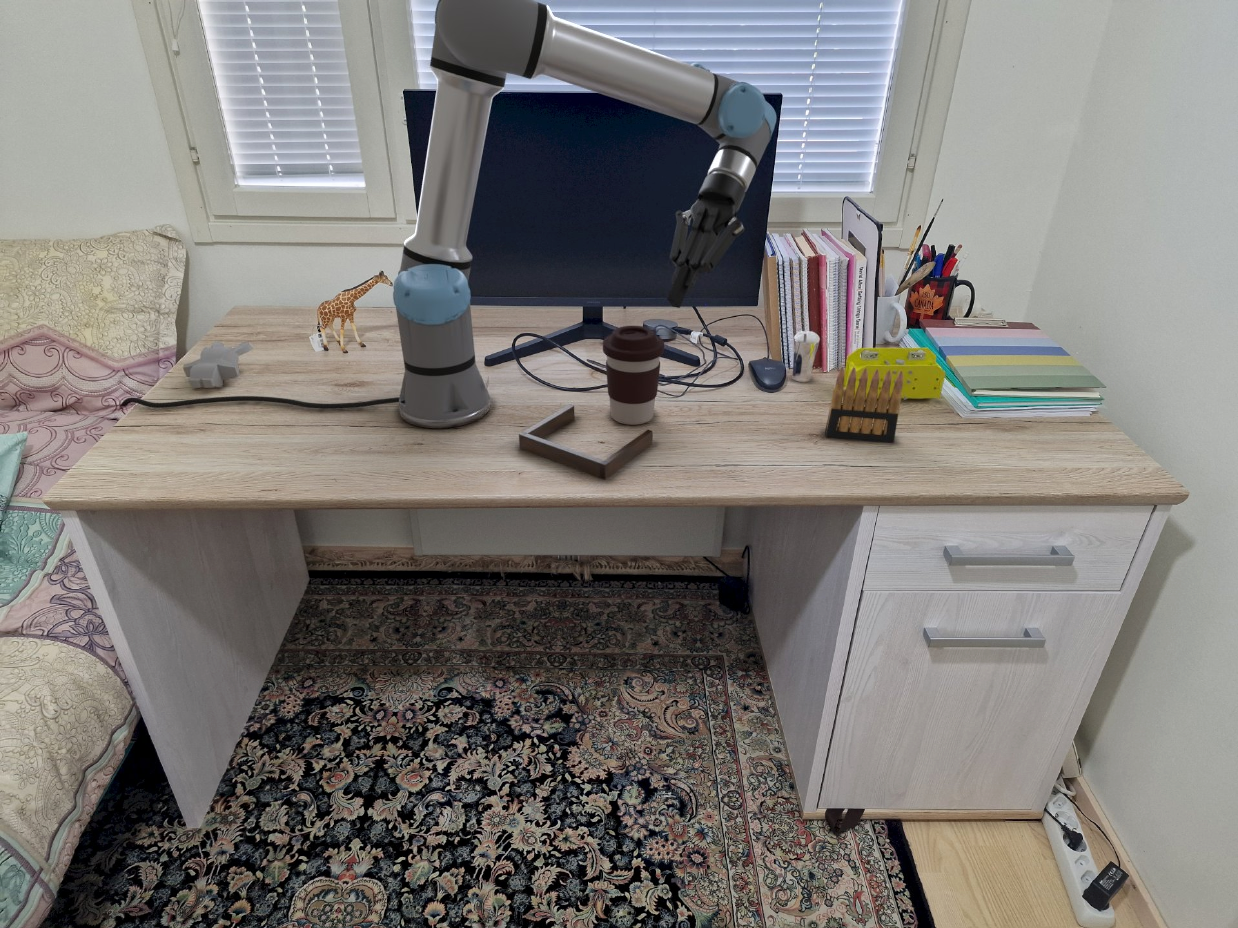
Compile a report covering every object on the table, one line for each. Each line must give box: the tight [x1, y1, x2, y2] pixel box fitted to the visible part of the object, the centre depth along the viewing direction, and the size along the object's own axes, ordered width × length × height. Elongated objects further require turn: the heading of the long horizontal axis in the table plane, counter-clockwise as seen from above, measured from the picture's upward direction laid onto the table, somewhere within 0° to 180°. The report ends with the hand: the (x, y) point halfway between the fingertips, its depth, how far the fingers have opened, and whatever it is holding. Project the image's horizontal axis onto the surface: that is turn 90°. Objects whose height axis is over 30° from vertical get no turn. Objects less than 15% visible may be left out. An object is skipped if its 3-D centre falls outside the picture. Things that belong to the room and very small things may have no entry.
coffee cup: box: [602, 325, 665, 426], centre depth 125 cm, size 10×10×15 cm
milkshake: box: [792, 330, 821, 383], centre depth 140 cm, size 5×5×10 cm
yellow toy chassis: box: [843, 347, 946, 401], centre depth 135 cm, size 16×6×8 cm, turn 91°
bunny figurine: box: [182, 341, 254, 389], centre depth 141 cm, size 10×5×15 cm
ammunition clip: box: [824, 366, 903, 444], centre depth 120 cm, size 11×2×12 cm, turn 80°
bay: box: [518, 404, 654, 480], centre depth 119 cm, size 13×16×2 cm
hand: (673, 303), depth 129 cm, fingers closed
